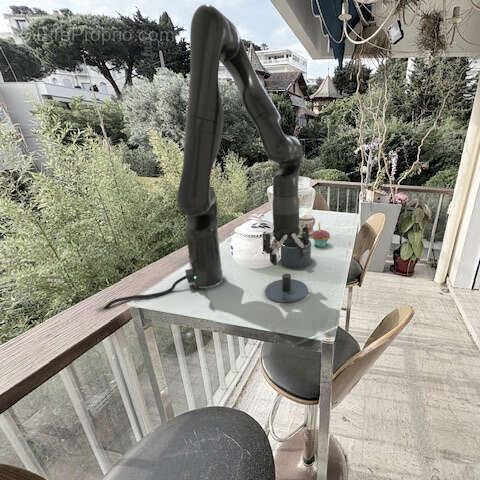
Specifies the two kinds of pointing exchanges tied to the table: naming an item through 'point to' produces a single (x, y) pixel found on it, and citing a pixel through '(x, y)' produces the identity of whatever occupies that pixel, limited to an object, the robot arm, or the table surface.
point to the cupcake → (320, 237)
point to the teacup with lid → (307, 222)
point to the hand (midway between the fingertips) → (287, 261)
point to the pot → (295, 255)
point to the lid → (286, 290)
